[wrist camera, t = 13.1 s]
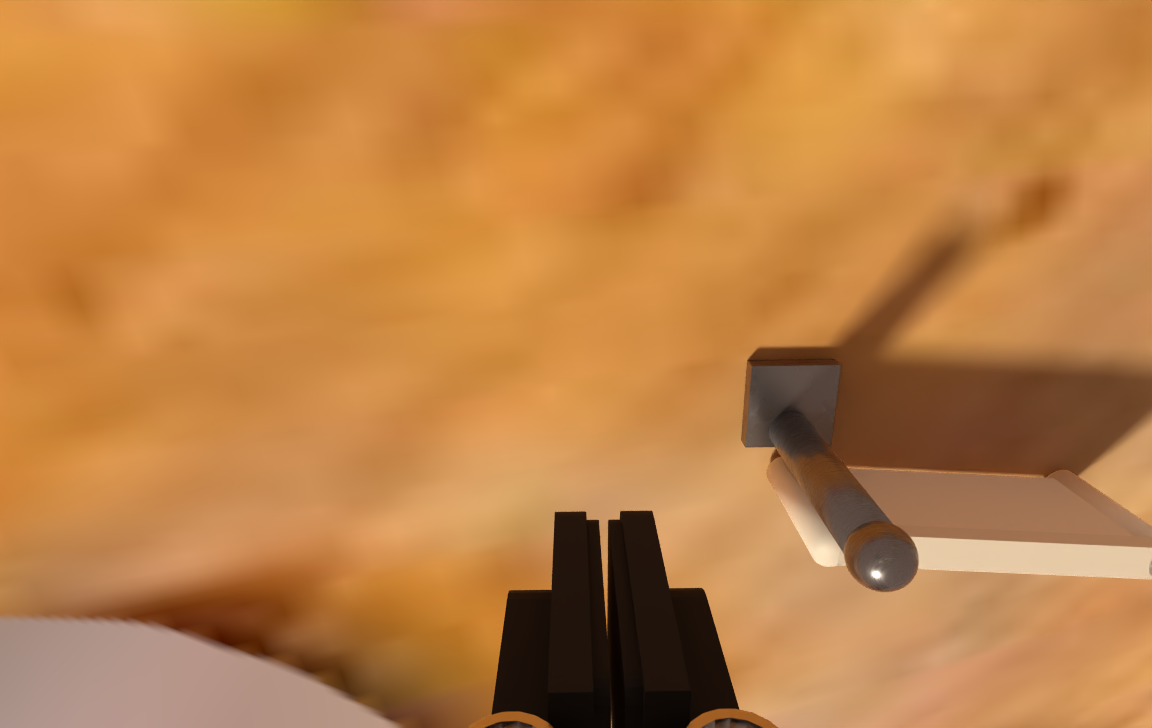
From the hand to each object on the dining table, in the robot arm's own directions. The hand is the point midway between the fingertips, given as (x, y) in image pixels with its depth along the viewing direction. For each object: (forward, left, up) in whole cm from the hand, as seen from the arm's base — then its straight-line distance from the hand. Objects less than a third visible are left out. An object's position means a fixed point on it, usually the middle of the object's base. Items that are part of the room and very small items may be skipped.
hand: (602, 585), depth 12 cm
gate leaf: (-20, +13, -27) cm, 36 cm away
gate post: (-12, +8, -27) cm, 31 cm away
